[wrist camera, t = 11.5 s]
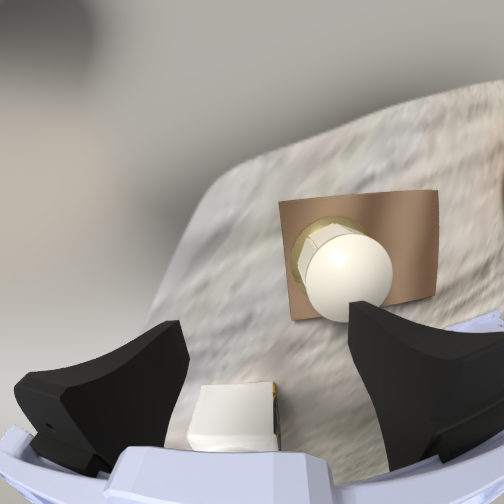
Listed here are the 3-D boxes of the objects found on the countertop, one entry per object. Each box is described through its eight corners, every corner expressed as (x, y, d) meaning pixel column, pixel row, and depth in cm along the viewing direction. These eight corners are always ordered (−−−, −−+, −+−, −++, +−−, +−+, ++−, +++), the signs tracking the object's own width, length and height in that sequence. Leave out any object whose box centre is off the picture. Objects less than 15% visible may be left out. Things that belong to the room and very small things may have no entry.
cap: (353, 303, 20) (370, 330, 16) (287, 285, 20) (293, 310, 16) (380, 237, 19) (405, 251, 15) (313, 213, 18) (325, 221, 14)
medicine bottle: (280, 424, 26) (283, 517, 14) (216, 427, 26) (199, 516, 15) (274, 379, 24) (276, 488, 12) (201, 383, 24) (170, 483, 13)
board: (430, 189, 19) (438, 190, 18) (428, 290, 21) (435, 295, 20) (278, 201, 20) (279, 202, 19) (290, 313, 22) (291, 320, 21)
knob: (371, 212, 19) (390, 217, 16) (373, 293, 20) (388, 311, 17) (285, 221, 19) (289, 228, 16) (294, 305, 21) (298, 325, 18)
